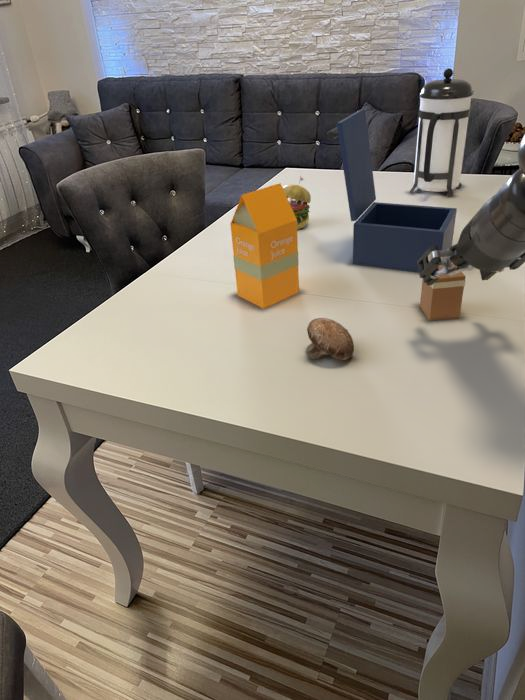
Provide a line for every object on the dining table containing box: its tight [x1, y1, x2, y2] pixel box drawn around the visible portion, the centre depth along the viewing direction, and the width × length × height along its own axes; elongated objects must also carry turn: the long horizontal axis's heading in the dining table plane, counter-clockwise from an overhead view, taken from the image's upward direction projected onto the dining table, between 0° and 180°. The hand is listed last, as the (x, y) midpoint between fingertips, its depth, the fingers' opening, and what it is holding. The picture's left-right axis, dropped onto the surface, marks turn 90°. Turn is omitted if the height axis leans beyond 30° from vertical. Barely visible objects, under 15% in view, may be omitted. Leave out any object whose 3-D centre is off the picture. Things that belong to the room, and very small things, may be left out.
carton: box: [419, 263, 466, 322], centre depth 88 cm, size 5×5×8 cm
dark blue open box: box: [352, 201, 457, 274], centre depth 108 cm, size 17×14×9 cm
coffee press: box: [409, 68, 474, 198], centre depth 137 cm, size 17×16×30 cm
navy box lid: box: [326, 108, 377, 222], centre depth 105 cm, size 18×14×5 cm
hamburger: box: [282, 175, 312, 231], centre depth 126 cm, size 8×7×12 cm
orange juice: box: [230, 182, 300, 309], centre depth 94 cm, size 8×9×20 cm
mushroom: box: [306, 317, 355, 361], centre depth 80 cm, size 8×8×6 cm
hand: (455, 276), depth 81 cm, fingers open, 8 cm apart
